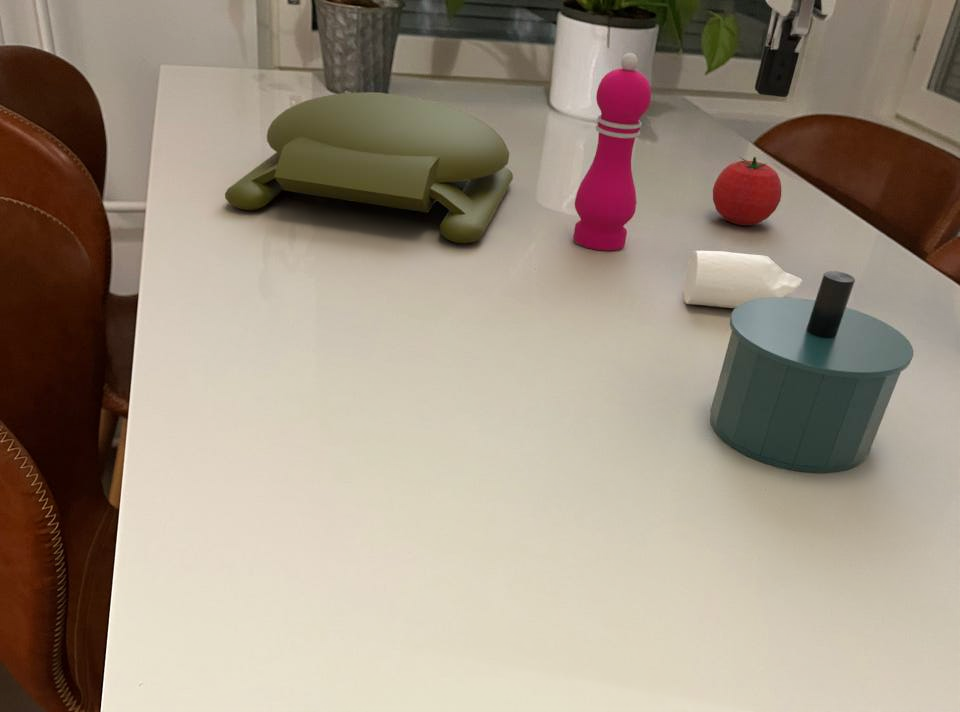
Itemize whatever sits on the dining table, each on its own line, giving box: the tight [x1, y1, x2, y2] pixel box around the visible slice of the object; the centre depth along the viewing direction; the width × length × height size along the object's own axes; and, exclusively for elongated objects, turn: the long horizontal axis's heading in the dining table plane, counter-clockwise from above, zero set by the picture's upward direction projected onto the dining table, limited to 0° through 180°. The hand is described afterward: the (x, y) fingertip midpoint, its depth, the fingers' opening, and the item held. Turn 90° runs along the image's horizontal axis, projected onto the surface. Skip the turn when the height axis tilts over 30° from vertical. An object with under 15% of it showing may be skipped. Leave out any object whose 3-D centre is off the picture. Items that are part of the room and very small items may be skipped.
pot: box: [709, 330, 902, 474], centre depth 82 cm, size 14×14×8 cm
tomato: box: [712, 156, 782, 226], centre depth 128 cm, size 9×9×8 cm
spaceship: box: [224, 91, 514, 245], centre depth 124 cm, size 35×31×10 cm
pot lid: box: [729, 270, 914, 378], centre depth 78 cm, size 15×15×6 cm
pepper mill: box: [573, 52, 652, 252], centre depth 112 cm, size 7×7×20 cm
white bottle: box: [683, 250, 804, 309], centre depth 105 cm, size 6×12×6 cm, turn 88°
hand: (770, 93), depth 101 cm, fingers closed
